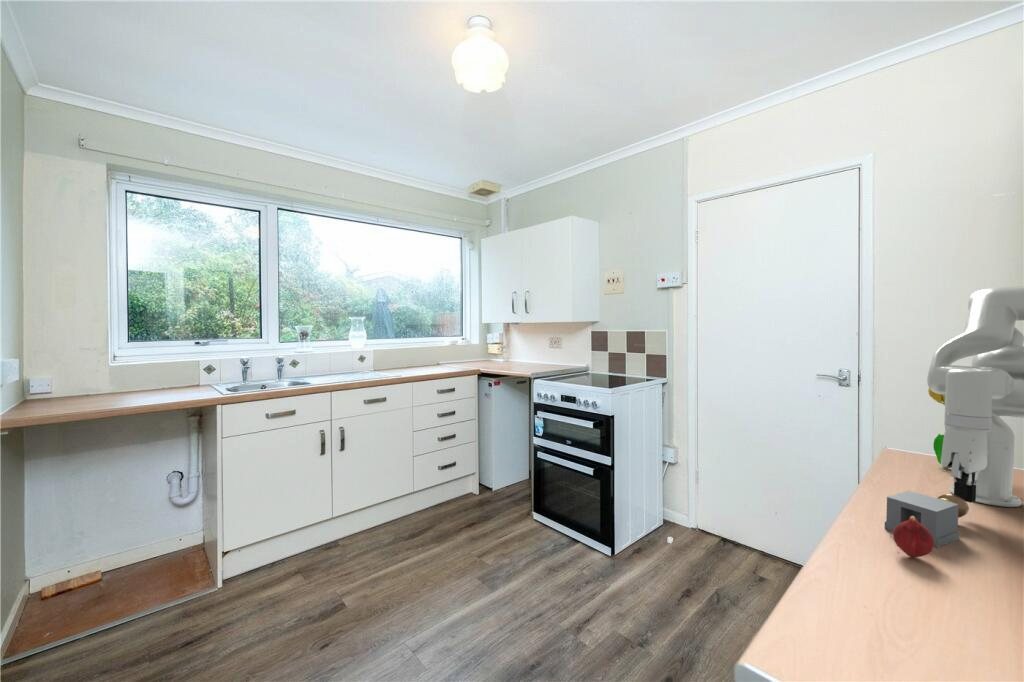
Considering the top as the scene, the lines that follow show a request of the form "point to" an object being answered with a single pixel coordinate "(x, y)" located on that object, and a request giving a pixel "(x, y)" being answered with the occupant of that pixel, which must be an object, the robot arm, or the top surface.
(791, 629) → the top surface
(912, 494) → the housing
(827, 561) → the top surface
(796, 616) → the top surface
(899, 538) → the onion
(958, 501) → the shaft
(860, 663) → the top surface
